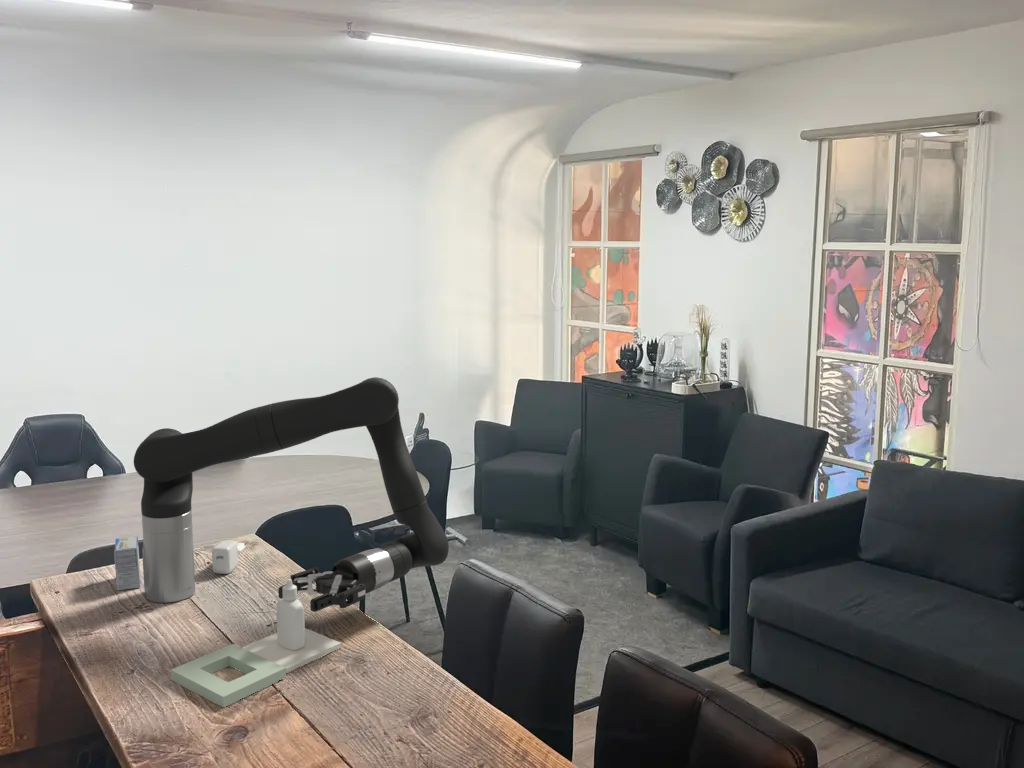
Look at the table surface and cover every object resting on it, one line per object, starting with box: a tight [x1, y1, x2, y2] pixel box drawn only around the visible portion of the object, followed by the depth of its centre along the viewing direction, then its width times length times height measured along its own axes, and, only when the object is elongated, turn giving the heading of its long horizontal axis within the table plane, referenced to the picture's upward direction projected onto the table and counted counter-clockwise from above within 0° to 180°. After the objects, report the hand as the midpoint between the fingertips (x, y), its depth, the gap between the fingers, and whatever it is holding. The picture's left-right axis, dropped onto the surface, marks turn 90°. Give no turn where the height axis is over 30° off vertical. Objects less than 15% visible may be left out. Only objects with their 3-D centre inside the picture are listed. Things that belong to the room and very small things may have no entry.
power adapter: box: [211, 539, 247, 575], centre depth 200 cm, size 11×5×6 cm, turn 175°
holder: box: [170, 643, 287, 708], centre depth 151 cm, size 14×12×2 cm
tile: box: [241, 627, 342, 674], centre depth 161 cm, size 12×12×1 cm
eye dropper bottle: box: [276, 578, 306, 650], centre depth 160 cm, size 4×6×12 cm
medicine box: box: [113, 535, 141, 591], centre depth 189 cm, size 8×4×9 cm, turn 22°
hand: (295, 599), depth 160 cm, fingers open, 8 cm apart
